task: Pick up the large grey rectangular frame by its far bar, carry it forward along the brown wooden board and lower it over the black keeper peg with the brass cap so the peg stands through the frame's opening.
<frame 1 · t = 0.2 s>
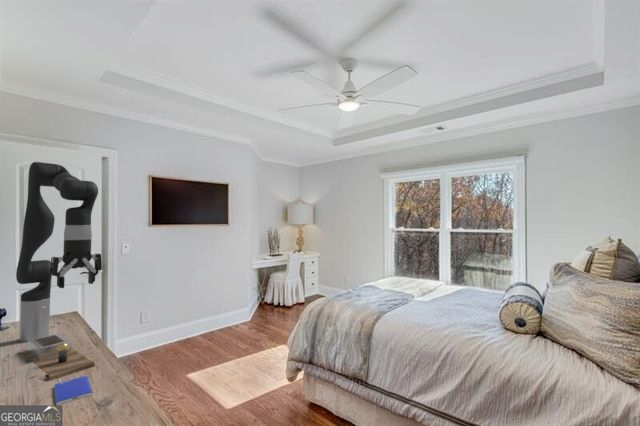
hand: (76, 285, 108), 28 cm above the table, tool pointing down, fingers open, 8 cm apart
grey rectangular frame: (49, 351, 119), point 1 cm above the table, touching brown wooden board
brown wooden board: (56, 360, 114), on the table
hard drive: (73, 393, 94), on the table
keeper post: (62, 364, 110), resting on brown wooden board
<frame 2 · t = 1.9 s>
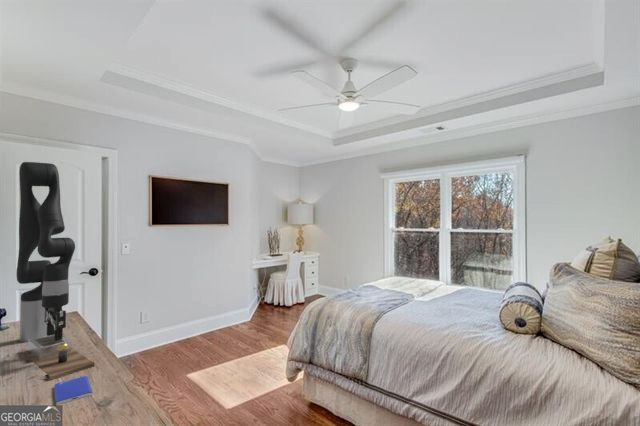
hand: (54, 337, 115), 8 cm above the table, tool pointing down, fingers open, 8 cm apart
nothing on the table moved.
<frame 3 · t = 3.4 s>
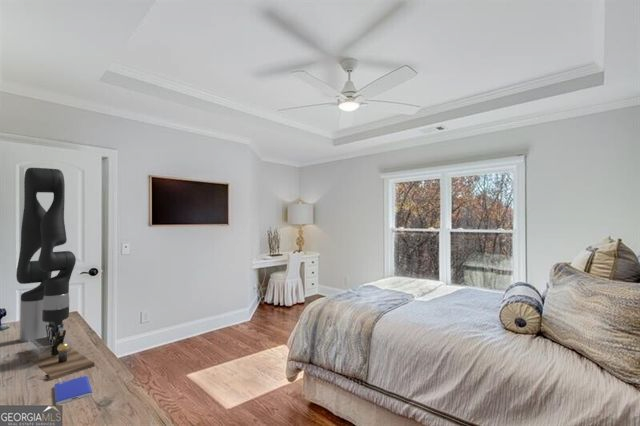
hand: (54, 354, 115), 2 cm above the table, tool pointing down, fingers closed on grey rectangular frame
grey rectangular frame: (49, 351, 119), point 1 cm above the table, touching gripper
everything else where it was.
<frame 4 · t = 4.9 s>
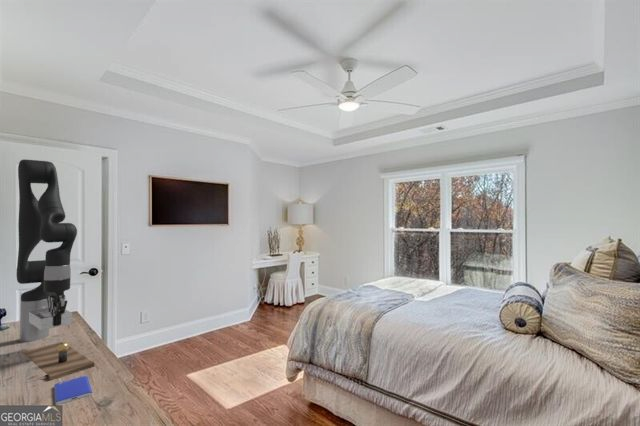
hand: (56, 324, 116), 12 cm above the table, tool pointing down, fingers closed on grey rectangular frame
grey rectangular frame: (50, 322, 119), point 12 cm above the table, touching gripper
everything else where it was.
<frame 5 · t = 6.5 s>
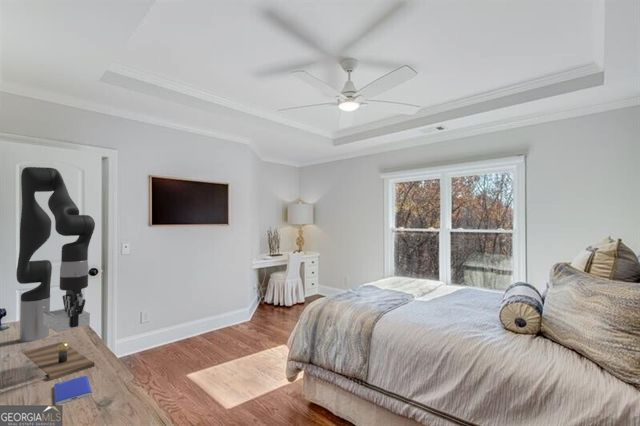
hand: (73, 326, 106), 15 cm above the table, tool pointing down, fingers closed on grey rectangular frame
grey rectangular frame: (66, 324, 109), point 15 cm above the table, touching gripper
everything else where it was.
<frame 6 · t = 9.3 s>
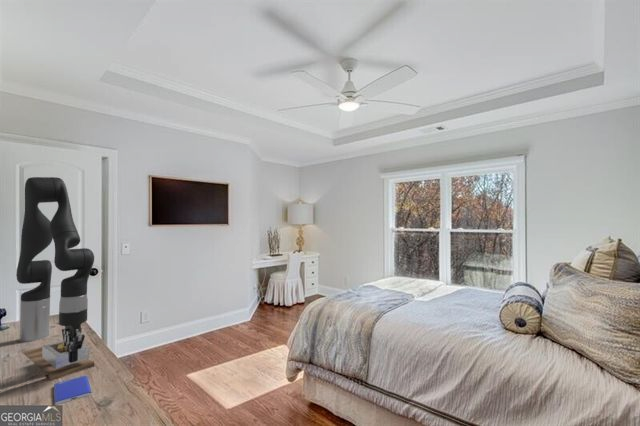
hand: (72, 360, 105), 4 cm above the table, tool pointing down, fingers closed on grey rectangular frame
grey rectangular frame: (65, 358, 109), point 3 cm above the table, touching gripper
everything else where it was.
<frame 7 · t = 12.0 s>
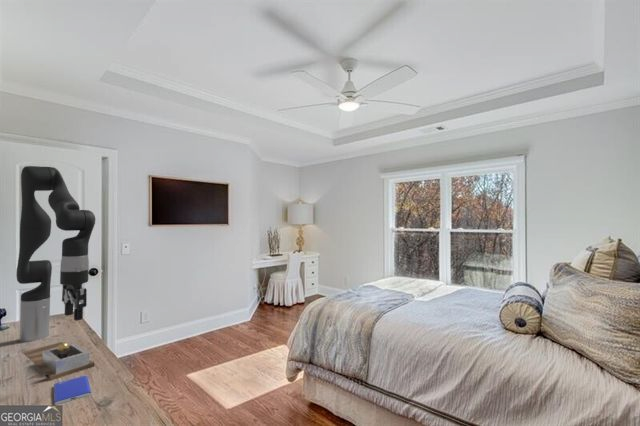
hand: (73, 317, 106), 18 cm above the table, tool pointing down, fingers open, 8 cm apart
grey rectangular frame: (65, 363, 109), point 1 cm above the table, touching brown wooden board
everything else where it was.
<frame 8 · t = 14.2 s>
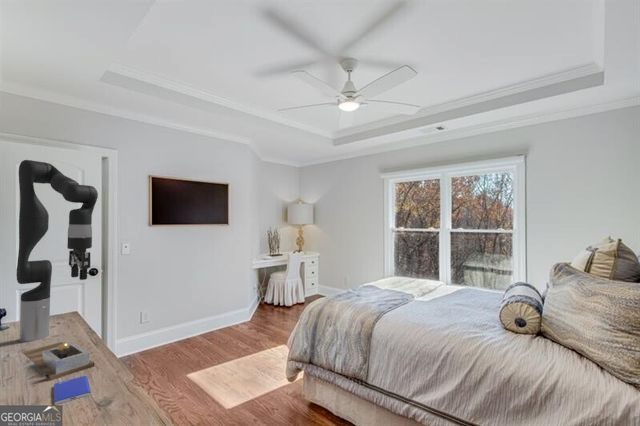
hand: (78, 278, 122), 28 cm above the table, tool pointing down, fingers open, 8 cm apart
nothing on the table moved.
at the end: grey rectangular frame 2.7 cm from the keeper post (horizontally); grey rectangular frame point 1.2 cm above the table; the gripper is holding nothing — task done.
